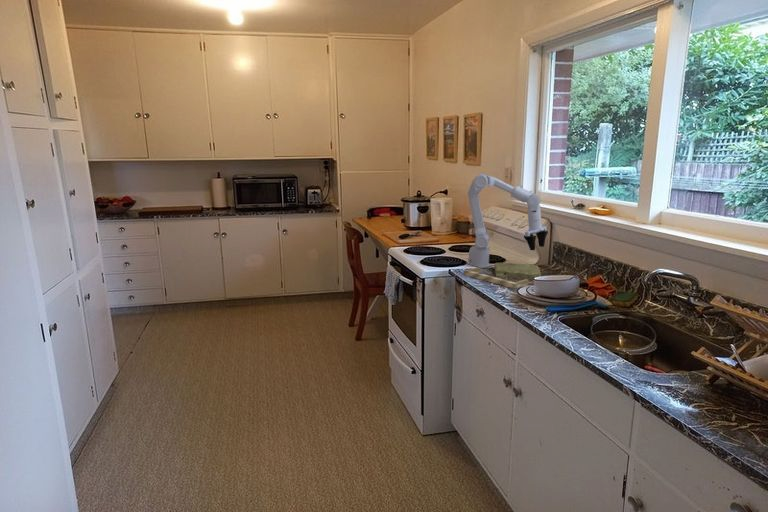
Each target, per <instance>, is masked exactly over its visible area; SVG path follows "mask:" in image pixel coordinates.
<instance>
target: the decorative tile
mask: <svg viewBox="0 0 768 512" xmlns="http://www.w3.org/2000/svg"><path fill="white" fill-rule="evenodd" d="M493 266H494V267H493V268H494V269H495V270H494V269H493V270H494V274H495V277H496V278H510V279H518V280H519V279H520V280H524V279H528V280H531V281H532V280H533V279H534V278H535V277H539V276H541V277H542V273H541V271H540V268H539V266H538V265H537V264H527V263H526V264H525V263H503V262H495V263H494V265H493Z"/></svg>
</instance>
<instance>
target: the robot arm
mask: <svg viewBox="0 0 768 512" xmlns="http://www.w3.org/2000/svg"><path fill="white" fill-rule="evenodd" d="M487 185H488V188H489V187H490V188H491V187H496V188H498V189H500V190H503V191H504V192H507V193H508V194H509V193H510V196H511V197H512V198H513V199H515V200H517V201H519V202H521V203H524V204H525V203H526V205H527V219H528V221H527V222H528V229H527V230H526V231H524V235H523V238H524V240H525V241H526V243H527V245H528V247H529V251H535V250H536V239H537V242H538V246H539V247H540V248H541V247H543V248H544V247H545V243H546V239H547V235H549V233H548V232H549V231H548V230H547V226H546V225H543V224H542V211H541V205H540V203H541V199H540V196H539V195H538V194H536V193H535V192H533V191H531V190H527V189H526V188H524V187H523V185H522V186H521V185H520V186H519V185H515V186H512V185H510V184H508V183H507V182H505V181H503V180H501V179H499V178H497V177H495V176H492V175H489V174H488V175H487V174H486V173H479V174H478V175H477V176H475V177H474V178H473V179H472V181H471V183H470V185H469V186H470V187H469V189H468V190H467V197H468V202H469V207H470V211H471V217H472V221H473V225H474V226H473V227H474V231H475V241H474V244H475V245H473V246H471V247H470V248H469V250H468V251H469V252H468V263H467V265H469V266H473V267H476V268H477V267H479V268H481V269H484V268H487V267H491V266H493V264H492V263H490V245H489V242H490V236H489V234H488V233H487V229H486V226H485V222H484V217H483V213H482V212H483V211H482V208H481V203H480V198H479V194H480V192H481V191H482V190H483V189H484V188H485V187H487Z"/></svg>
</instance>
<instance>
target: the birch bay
mask: <svg viewBox="0 0 768 512" xmlns="http://www.w3.org/2000/svg"><path fill="white" fill-rule="evenodd" d="M481 271H482V268H481V267H477V266H476V267H473V268H470V269H465V270H464V271H463V276H466V277H470V278H474V279H478V280H480V281H485V282H488V283H491V284H495V285H496V284H497V285H499V286H503V287H506V288H511V289H513V290H515V289H518V288H522V287H525V286H527V285H530V283H529V282H530V279H520V280H518V281H515V282H514V281H512V280H507V279H504V278H501V277H496V276H492V275H487V274H484V273H481Z"/></svg>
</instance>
